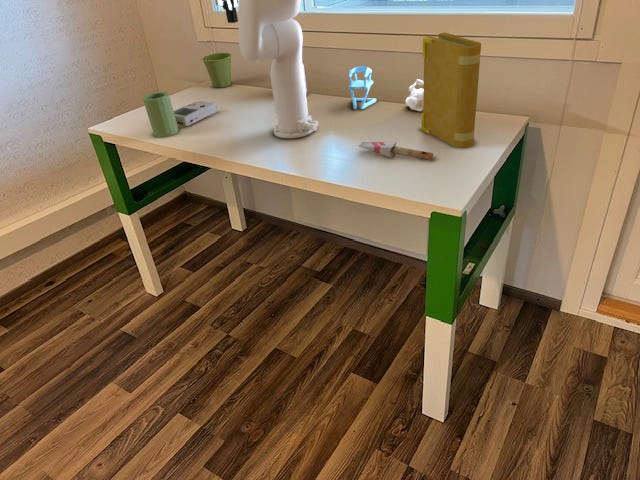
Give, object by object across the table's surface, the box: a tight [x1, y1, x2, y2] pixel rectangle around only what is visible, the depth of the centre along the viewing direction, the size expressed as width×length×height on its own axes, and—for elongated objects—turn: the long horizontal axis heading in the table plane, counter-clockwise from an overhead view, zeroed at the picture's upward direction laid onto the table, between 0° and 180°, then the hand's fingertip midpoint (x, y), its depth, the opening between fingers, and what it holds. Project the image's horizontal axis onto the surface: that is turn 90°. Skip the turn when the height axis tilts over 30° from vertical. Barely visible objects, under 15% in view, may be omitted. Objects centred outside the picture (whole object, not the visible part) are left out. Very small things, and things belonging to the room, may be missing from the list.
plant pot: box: [201, 52, 233, 89], centre depth 193 cm, size 12×12×11 cm
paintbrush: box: [358, 141, 434, 161], centre depth 127 cm, size 4×3×20 cm
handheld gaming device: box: [173, 100, 218, 127], centre depth 166 cm, size 9×15×4 cm, turn 146°
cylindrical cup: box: [142, 91, 179, 138], centre depth 156 cm, size 8×8×12 cm
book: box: [420, 32, 482, 149], centre depth 127 cm, size 17×7×25 cm, turn 23°
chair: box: [347, 65, 377, 110], centre depth 158 cm, size 8×8×12 cm
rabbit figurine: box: [405, 78, 424, 112], centre depth 150 cm, size 12×8×10 cm, turn 54°
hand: (233, 22), depth 159 cm, fingers closed
